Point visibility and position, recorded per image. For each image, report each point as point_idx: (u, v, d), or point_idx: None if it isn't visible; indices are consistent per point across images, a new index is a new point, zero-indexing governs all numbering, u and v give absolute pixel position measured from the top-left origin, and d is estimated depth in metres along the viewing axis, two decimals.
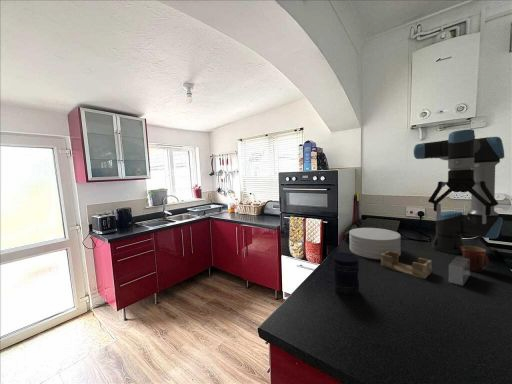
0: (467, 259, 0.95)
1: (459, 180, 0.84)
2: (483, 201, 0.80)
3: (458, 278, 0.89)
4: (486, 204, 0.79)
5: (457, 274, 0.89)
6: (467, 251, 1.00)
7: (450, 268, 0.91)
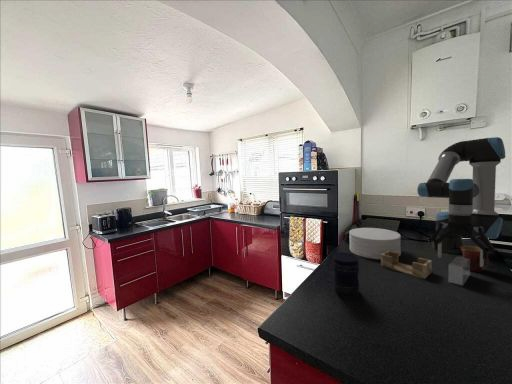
0: (467, 259, 0.95)
1: (459, 224, 0.92)
2: (481, 246, 0.87)
3: (458, 278, 0.89)
4: (483, 249, 0.86)
5: (457, 274, 0.89)
6: (467, 251, 1.00)
7: (450, 268, 0.91)
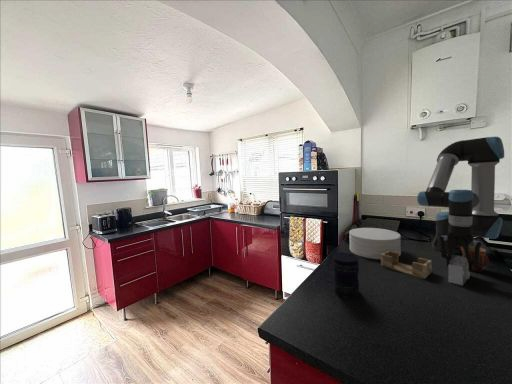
0: None
1: (459, 234, 0.92)
2: (469, 259, 0.90)
3: (458, 278, 0.89)
4: (469, 262, 0.90)
5: (457, 274, 0.89)
6: None
7: (450, 268, 0.91)
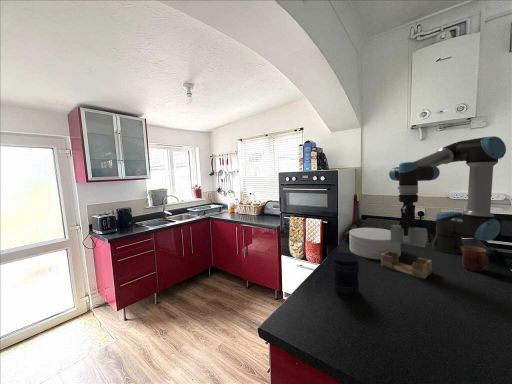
0: (420, 229, 0.98)
1: None
2: None
3: None
4: None
5: None
6: (467, 251, 1.00)
7: None
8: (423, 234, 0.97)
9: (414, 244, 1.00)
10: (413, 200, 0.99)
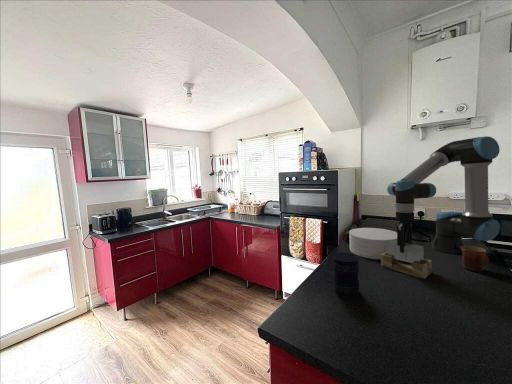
0: (416, 247, 1.00)
1: None
2: None
3: None
4: None
5: None
6: (467, 251, 1.00)
7: None
8: (419, 252, 0.98)
9: (410, 261, 1.02)
10: (409, 218, 1.00)
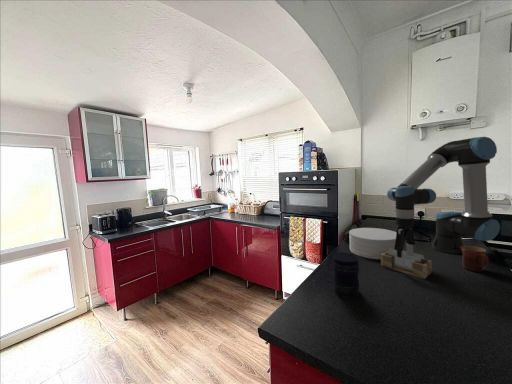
0: (416, 256, 1.00)
1: None
2: None
3: None
4: None
5: None
6: (467, 251, 1.00)
7: None
8: (419, 261, 0.99)
9: (410, 270, 1.02)
10: (409, 224, 1.00)
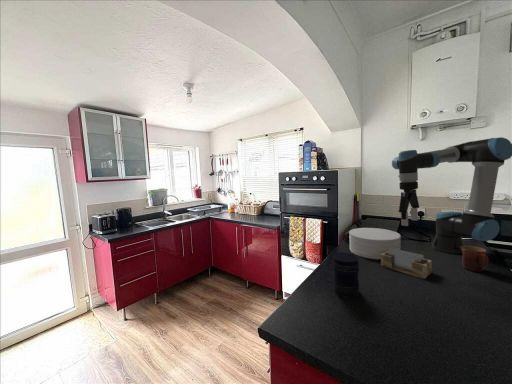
0: (416, 256, 1.00)
1: None
2: None
3: None
4: None
5: None
6: (467, 251, 1.00)
7: None
8: (419, 261, 0.99)
9: (410, 270, 1.02)
10: (413, 187, 1.02)
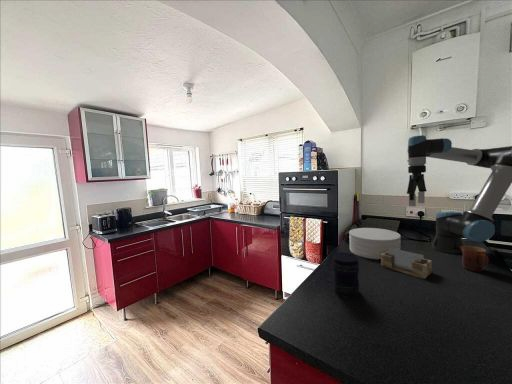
0: (416, 256, 1.00)
1: None
2: None
3: None
4: None
5: None
6: (467, 251, 1.00)
7: None
8: (419, 261, 0.99)
9: (410, 270, 1.02)
10: (421, 170, 1.09)
